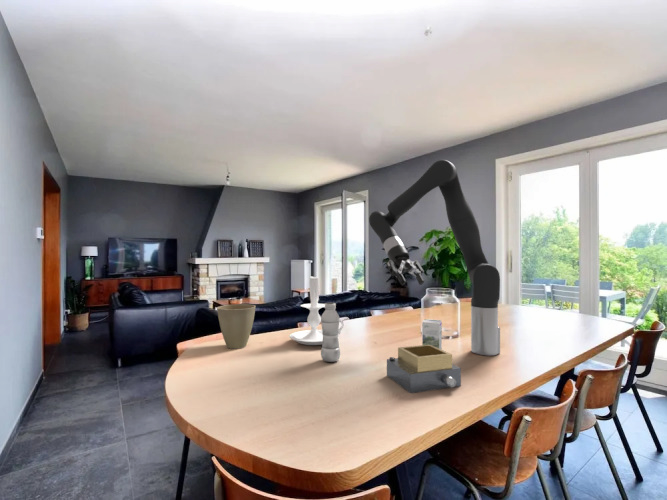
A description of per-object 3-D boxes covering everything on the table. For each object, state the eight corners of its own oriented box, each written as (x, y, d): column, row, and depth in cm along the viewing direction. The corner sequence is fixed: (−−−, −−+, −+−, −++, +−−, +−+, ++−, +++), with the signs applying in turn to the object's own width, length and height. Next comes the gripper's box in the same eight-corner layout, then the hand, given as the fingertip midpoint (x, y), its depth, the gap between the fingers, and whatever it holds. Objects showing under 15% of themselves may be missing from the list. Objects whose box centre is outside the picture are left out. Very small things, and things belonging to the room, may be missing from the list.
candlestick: (356, 344, 144) (356, 275, 144) (301, 352, 132) (301, 278, 132) (333, 333, 162) (332, 273, 162) (282, 340, 150) (282, 274, 150)
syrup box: (442, 361, 120) (442, 319, 121) (439, 367, 115) (439, 322, 115) (425, 359, 123) (425, 318, 123) (421, 364, 118) (421, 321, 118)
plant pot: (263, 344, 143) (263, 305, 143) (235, 353, 131) (235, 310, 131) (237, 340, 151) (237, 302, 151) (208, 348, 139) (208, 307, 139)
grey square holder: (432, 370, 112) (432, 341, 112) (468, 390, 96) (467, 356, 96) (386, 375, 107) (386, 346, 107) (416, 397, 91) (416, 362, 91)
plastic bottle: (338, 364, 118) (338, 304, 118) (318, 363, 119) (318, 304, 119) (341, 358, 124) (341, 302, 124) (323, 357, 125) (323, 301, 125)
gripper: (385, 243, 133) (403, 277, 124) (414, 244, 140) (433, 277, 130) (376, 256, 138) (392, 290, 128) (405, 257, 145) (422, 289, 135)
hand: (413, 283), depth 129 cm, fingers open, 8 cm apart
